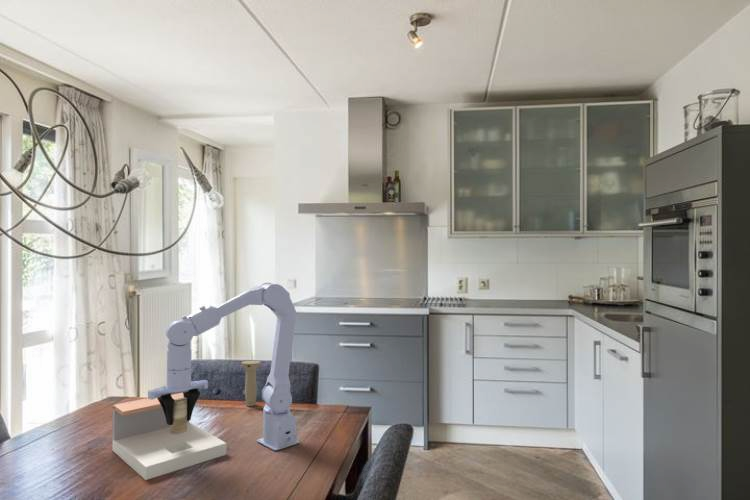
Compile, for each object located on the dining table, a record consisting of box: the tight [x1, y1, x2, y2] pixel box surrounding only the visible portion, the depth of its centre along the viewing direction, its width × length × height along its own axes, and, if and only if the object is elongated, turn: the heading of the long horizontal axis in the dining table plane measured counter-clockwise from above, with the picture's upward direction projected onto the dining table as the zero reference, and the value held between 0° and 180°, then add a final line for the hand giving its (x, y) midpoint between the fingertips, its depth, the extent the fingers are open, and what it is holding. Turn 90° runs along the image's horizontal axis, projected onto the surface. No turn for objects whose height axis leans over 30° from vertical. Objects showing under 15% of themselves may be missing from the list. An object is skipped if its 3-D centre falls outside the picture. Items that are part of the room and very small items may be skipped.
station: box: [111, 393, 227, 481], centre depth 124 cm, size 24×20×12 cm
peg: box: [170, 397, 187, 434], centre depth 120 cm, size 4×4×8 cm
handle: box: [240, 360, 262, 407], centre depth 164 cm, size 5×6×15 cm
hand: (178, 421), depth 120 cm, fingers closed on peg, 4 cm apart
